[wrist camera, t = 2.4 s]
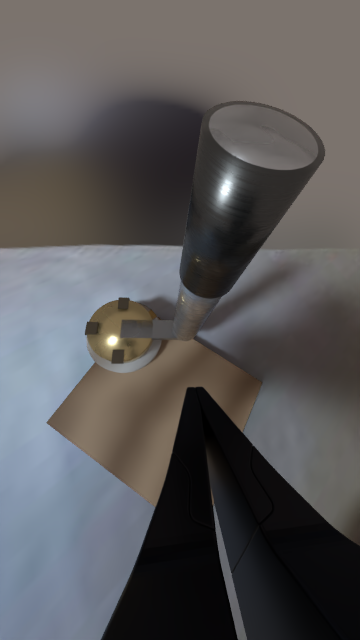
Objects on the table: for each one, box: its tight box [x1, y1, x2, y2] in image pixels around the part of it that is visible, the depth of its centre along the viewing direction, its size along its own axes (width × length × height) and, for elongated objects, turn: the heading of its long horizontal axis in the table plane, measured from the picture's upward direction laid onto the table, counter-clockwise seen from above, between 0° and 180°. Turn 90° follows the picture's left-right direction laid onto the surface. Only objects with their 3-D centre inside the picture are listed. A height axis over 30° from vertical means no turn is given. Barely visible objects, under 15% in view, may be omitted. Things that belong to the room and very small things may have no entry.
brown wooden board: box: [47, 303, 262, 507], centre depth 17 cm, size 19×14×2 cm
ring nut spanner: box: [85, 101, 325, 364], centre depth 11 cm, size 10×6×16 cm, turn 91°
